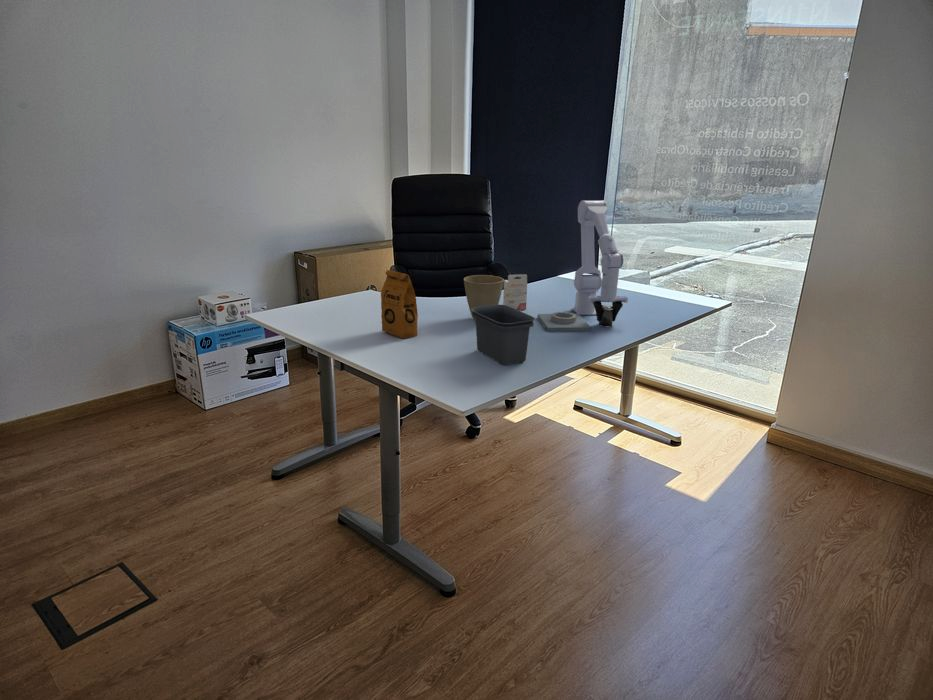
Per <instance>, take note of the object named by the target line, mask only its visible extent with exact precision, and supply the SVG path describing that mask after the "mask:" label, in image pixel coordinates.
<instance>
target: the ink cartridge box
mask: <svg viewBox="0 0 933 700" xmlns="http://www.w3.org/2000/svg"><path fill="white" fill-rule="evenodd" d="M527 292H528V275H527V273H526V274H525V273H524V274H522V273H520V274H508V275H507V279H504V282H503V297H502V299H503V300H502V303H503V304H502V305H506V306H509V307H511V308H514V309H516V310H519V311H523V310H525V311H526V310H527V300H528V299H527V298H528V296H527Z"/></svg>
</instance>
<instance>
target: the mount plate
mask: <svg viewBox="0 0 933 700" xmlns="http://www.w3.org/2000/svg"><path fill="white" fill-rule="evenodd" d="M537 319H538V320H539V321H541V322H540V323H541V325H542V326H543V327H544V329H545V328H546V329H545V330H546V331H547V332H548V331H553V332H591V331H592V327H591V326H590V324H589V323H588V322H587V321H586V320H584V318H583V317H582V315H579V314H577V313H571V312H568V311H567V312H566V311H557V312H553V313H537Z"/></svg>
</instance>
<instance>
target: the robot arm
mask: <svg viewBox="0 0 933 700" xmlns="http://www.w3.org/2000/svg"><path fill="white" fill-rule="evenodd" d="M607 214H608V203H607V202H606V200H604V199H602V200H584V199H583V200H580V202H579V203H578V206H577V222H578V223H579V224H580V240H581V241H580V242H581V243H580V245H581V250H580V251H581V266H580V267H579V268H578V269H577V270H576V271H575V274H574V279H573V285H574V288H575V290H576V293H575V301H574V307H572V310H573V311H574V312H575V314H579V315H580V316H585V315H586V316H591V315H592V316H596V321H597V322H599V321H600V320H601V311H602V307H603V304H602V303H612V304H611V306H613V307H614V313H613V322H616V318H617V317H618V314H619V312H620V310H621V309H622V308H623V306H624V303H626V304H627V303H628V300H629V298H628V296H627V295H624V296H623V295H617V294H618V293H617V292H618V284H619V276H620V275H619V274H620V269H621V268H622V267H623V265H624V255H623V254H622V252H620V250H618V249H617V248H618V247H617V245H616V242H615V239H614V236H613V235H611V234H610V232H609V227H608V223H607V222H608V221H607V218H606V217H607ZM595 229H596V232H597V234H598V236H599V239H598V240H597V244H598V247H599V250H600V251H599V252H600V254H601V258H600V266H601V270H600V269H599V268H598V267H596V266H595V265H596V263H595V261H596V260H595V257H596V256H595ZM601 273H602V274H601ZM601 275H602V276H601ZM600 289H601V290H600ZM599 290H600V295H597V293H598V292H599Z"/></svg>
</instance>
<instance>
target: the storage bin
mask: <svg viewBox="0 0 933 700" xmlns="http://www.w3.org/2000/svg"><path fill="white" fill-rule="evenodd" d="M471 311H473V313H472V315H471V317H472V316H473V317H475V318H476V321H475V332H476V333H475V334H476V349H477V351H478V352H479V353H481V352H482V353H481V354H483V355H485V356H487V357H488V356H489V358H490V359H492V360H494V361H496V362H497V363H499V364H500V365H503V366H505V365H506V366H507V365H513V364H514V365H515V364H517V363H523V362H525V361H526V359H527V352H528V345H529V337H530V331H531V327H532V328H533V327H534V326H535V325H534V324H535V323H534V321H535V320H536V318H535V317H534V316H532V315H530V314H528V313H525V312H523V311H522V310H516V309H514V308H511V307H509V306H506V305H503V304H498V305H488V306H480V307H473V308H471Z"/></svg>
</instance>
